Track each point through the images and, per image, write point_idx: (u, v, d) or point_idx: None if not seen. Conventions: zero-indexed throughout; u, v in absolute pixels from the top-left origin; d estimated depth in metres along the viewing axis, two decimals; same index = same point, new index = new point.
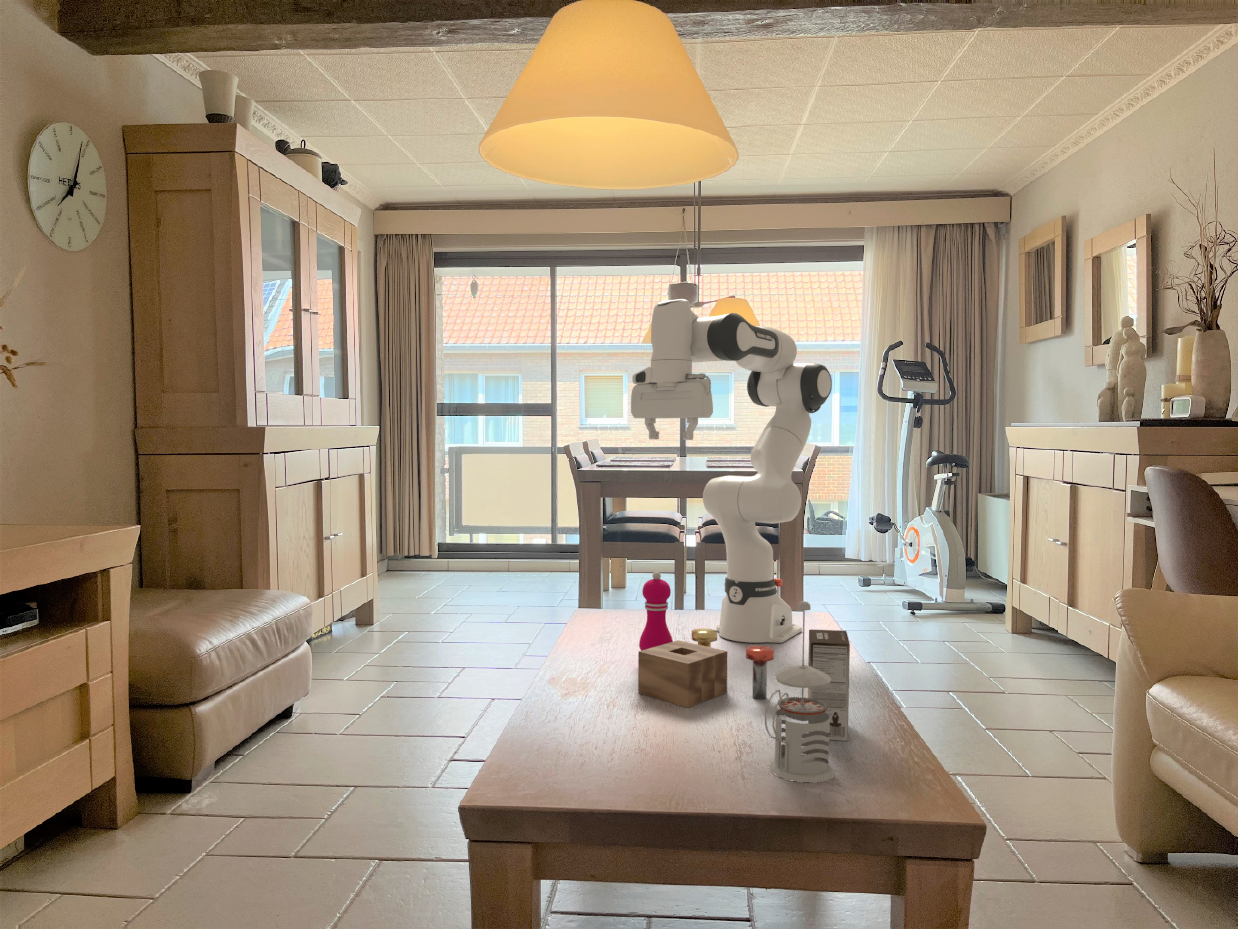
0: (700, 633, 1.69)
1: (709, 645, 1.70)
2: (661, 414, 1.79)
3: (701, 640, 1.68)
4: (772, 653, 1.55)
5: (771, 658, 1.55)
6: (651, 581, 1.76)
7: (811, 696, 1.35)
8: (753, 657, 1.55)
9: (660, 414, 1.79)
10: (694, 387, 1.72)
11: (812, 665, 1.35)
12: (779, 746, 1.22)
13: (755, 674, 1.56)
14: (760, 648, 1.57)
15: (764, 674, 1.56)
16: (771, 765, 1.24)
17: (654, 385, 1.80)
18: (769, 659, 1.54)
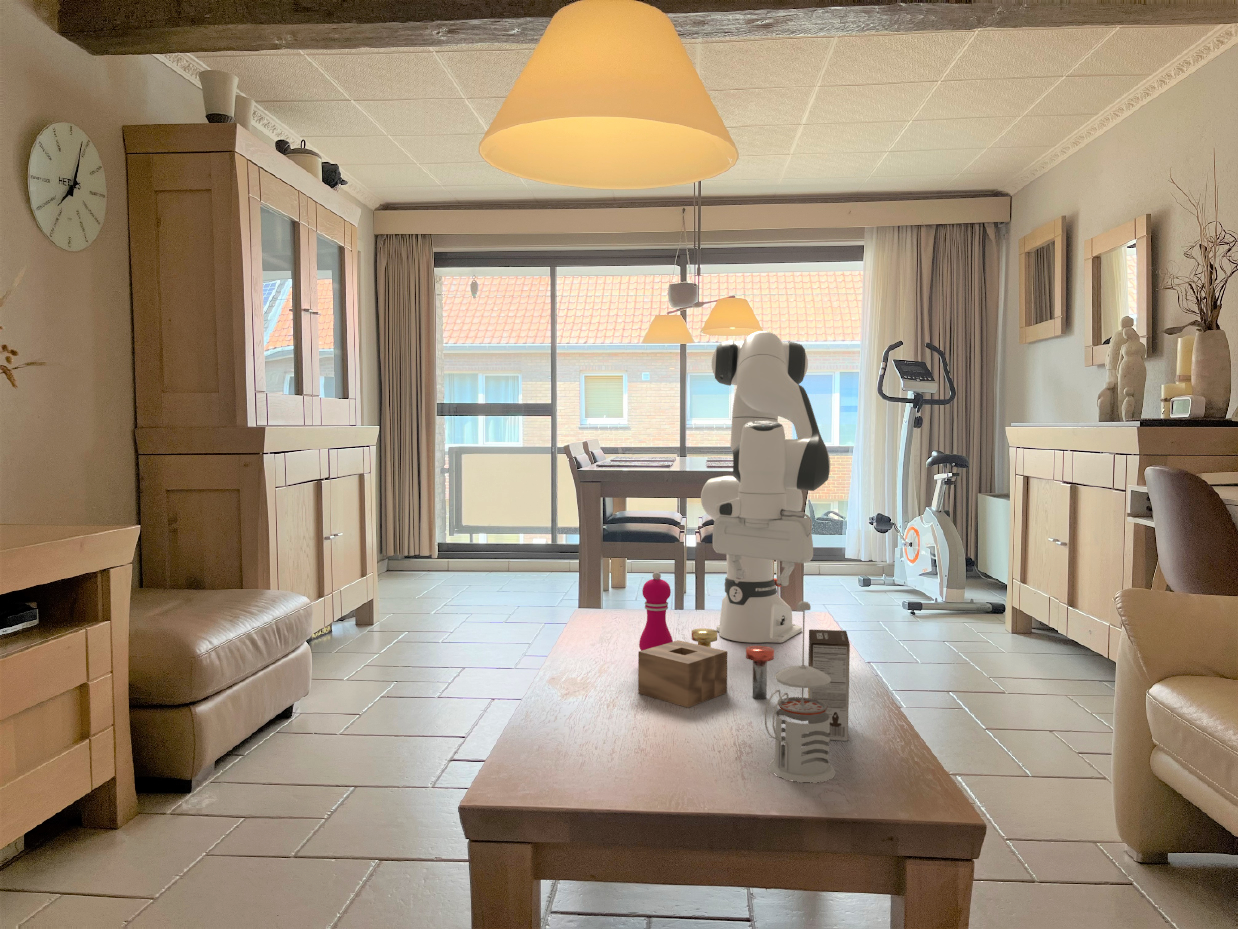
0: (700, 633, 1.69)
1: (709, 645, 1.70)
2: (751, 553, 1.55)
3: (701, 640, 1.68)
4: (772, 653, 1.55)
5: (771, 658, 1.55)
6: (651, 581, 1.76)
7: (811, 696, 1.35)
8: (753, 657, 1.55)
9: (749, 553, 1.55)
10: (792, 528, 1.49)
11: (812, 665, 1.35)
12: (779, 746, 1.22)
13: (755, 674, 1.56)
14: (760, 648, 1.57)
15: (764, 674, 1.56)
16: (771, 765, 1.24)
17: (742, 519, 1.56)
18: (769, 659, 1.54)
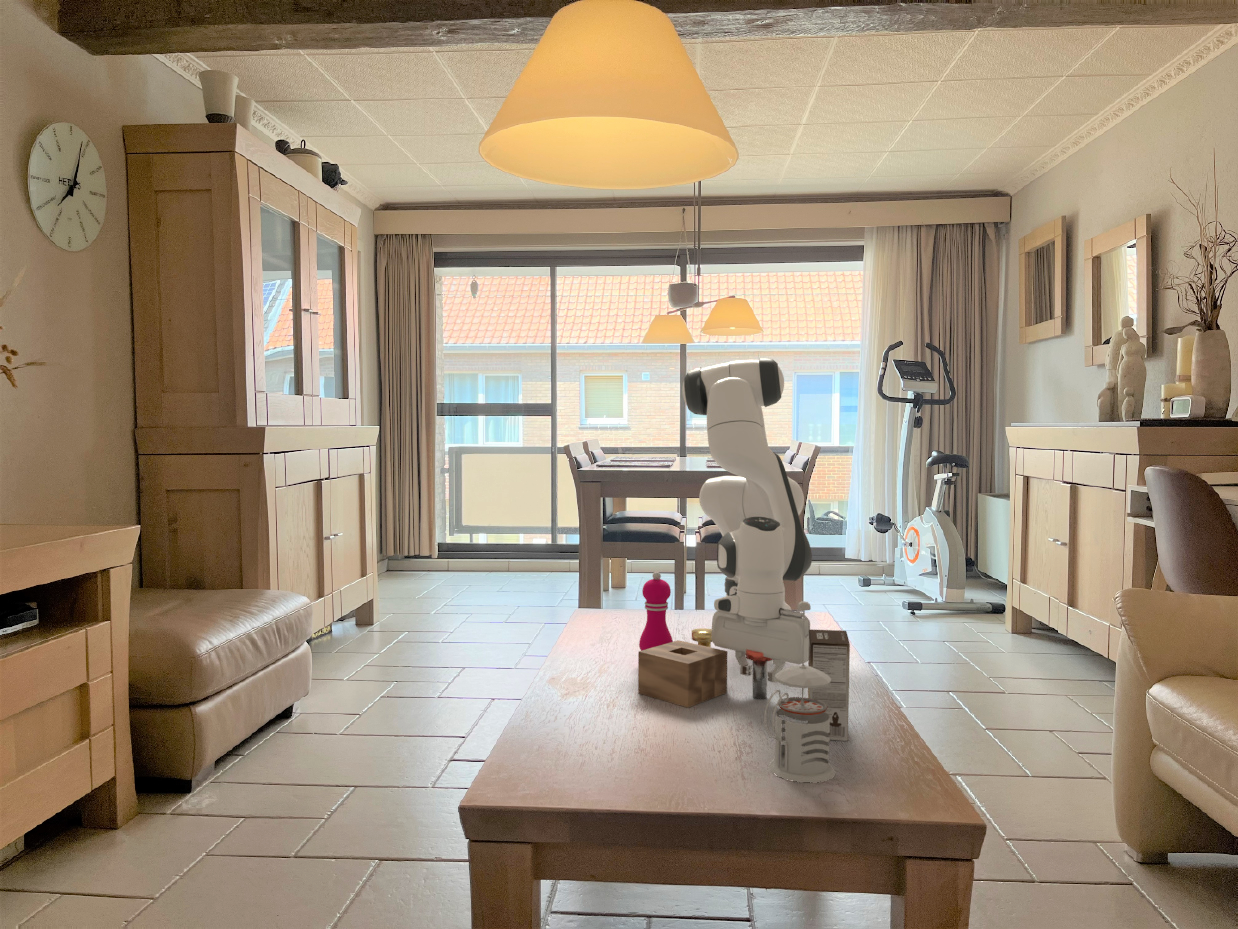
0: (700, 633, 1.69)
1: (709, 645, 1.70)
2: None
3: (701, 640, 1.68)
4: None
5: (771, 658, 1.55)
6: (651, 581, 1.76)
7: (811, 696, 1.35)
8: (753, 657, 1.55)
9: None
10: (790, 629, 1.50)
11: (812, 665, 1.35)
12: (779, 746, 1.22)
13: (755, 674, 1.56)
14: None
15: (764, 674, 1.56)
16: (771, 765, 1.24)
17: (740, 615, 1.57)
18: (769, 659, 1.55)
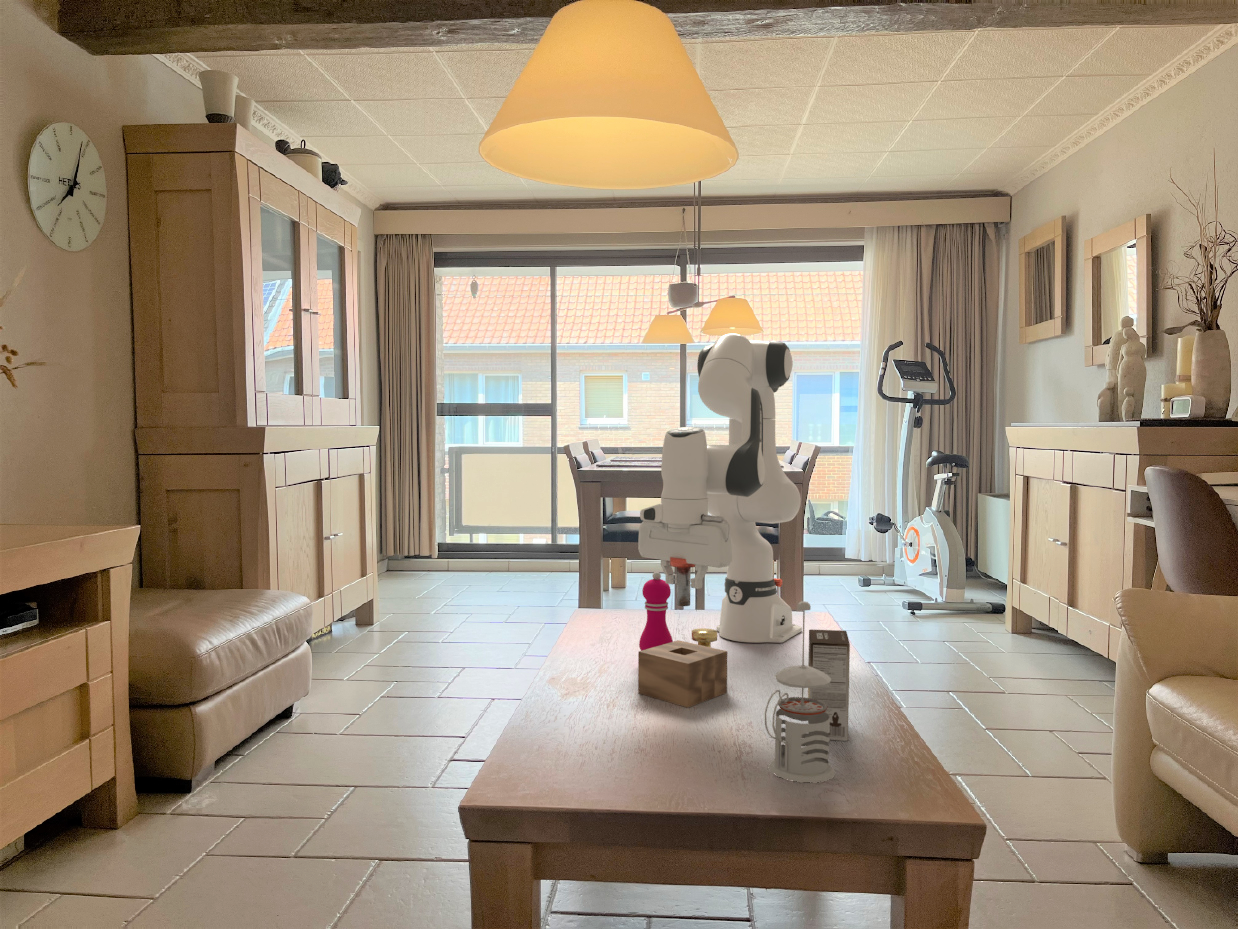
0: (700, 633, 1.69)
1: (709, 645, 1.70)
2: None
3: (701, 640, 1.68)
4: None
5: (694, 565, 1.56)
6: (651, 581, 1.76)
7: (811, 696, 1.35)
8: (676, 563, 1.56)
9: None
10: (711, 533, 1.51)
11: (812, 665, 1.35)
12: (779, 746, 1.22)
13: (679, 582, 1.57)
14: None
15: (687, 581, 1.57)
16: (771, 765, 1.24)
17: (665, 524, 1.59)
18: (692, 565, 1.56)
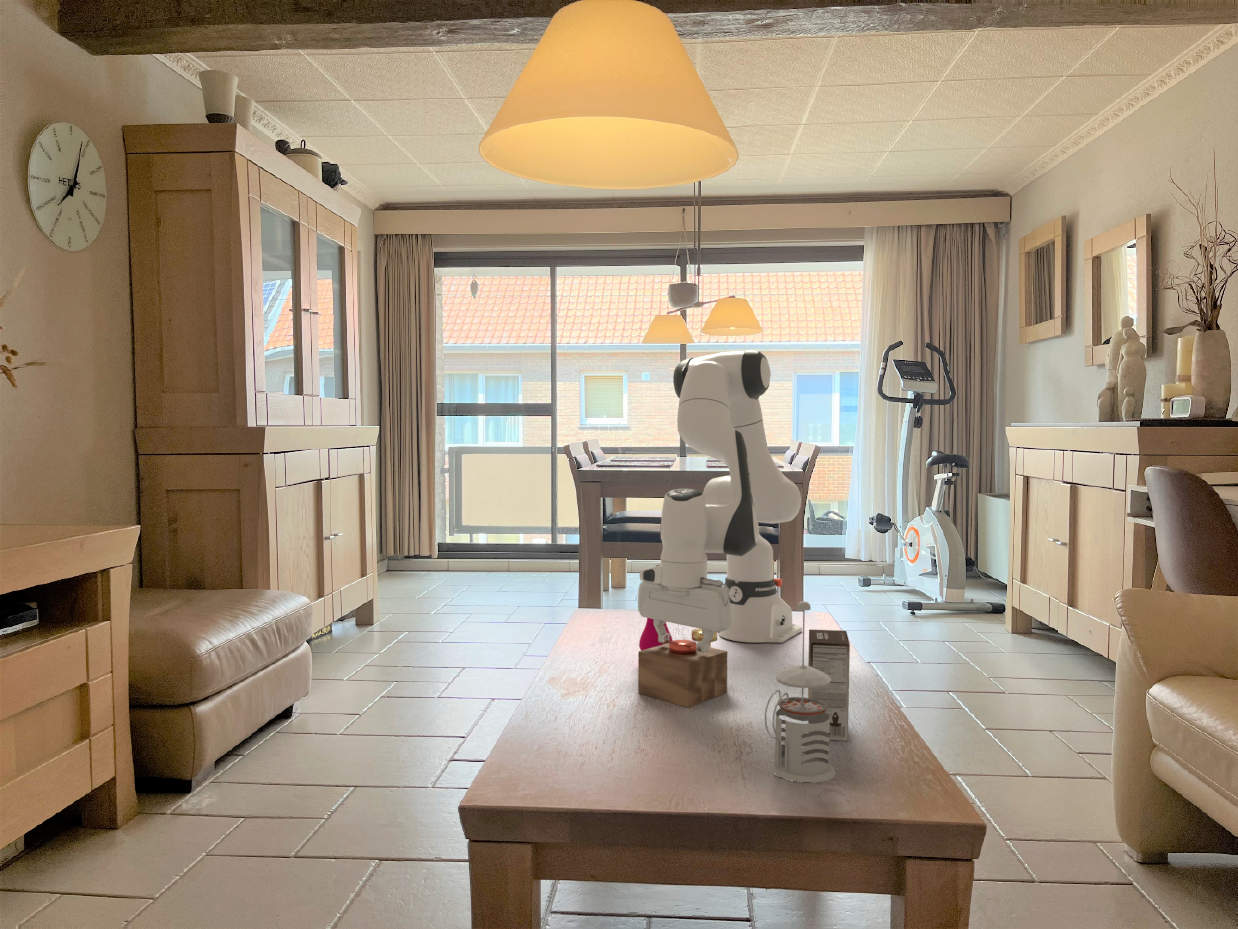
0: (700, 633, 1.69)
1: (709, 645, 1.70)
2: (673, 619, 1.58)
3: (701, 640, 1.68)
4: (694, 647, 1.57)
5: (693, 652, 1.57)
6: None
7: (811, 696, 1.35)
8: (675, 651, 1.57)
9: (671, 619, 1.58)
10: (710, 598, 1.52)
11: (812, 665, 1.35)
12: (779, 746, 1.22)
13: None
14: (683, 642, 1.59)
15: None
16: (771, 765, 1.24)
17: (664, 585, 1.59)
18: (691, 653, 1.57)
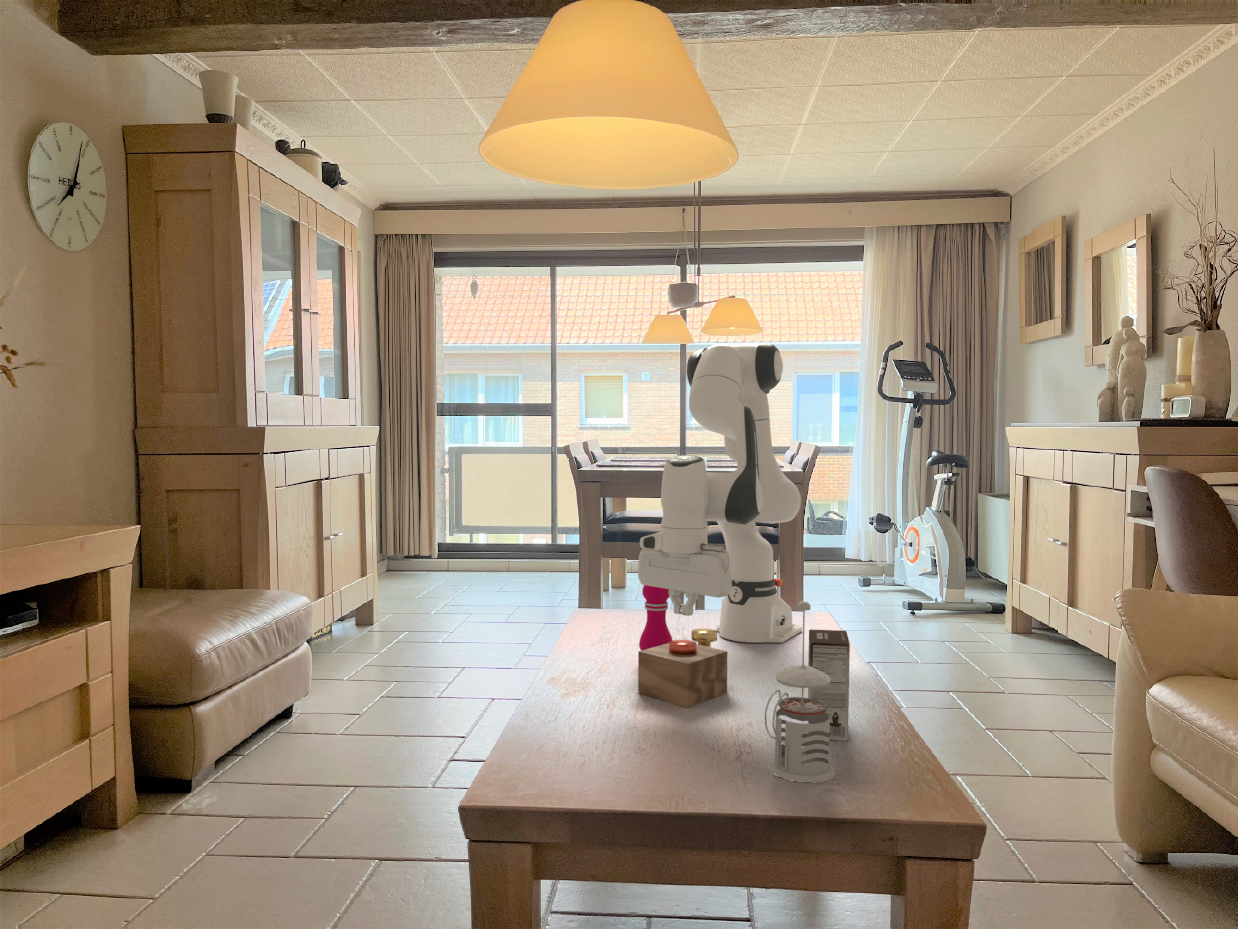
0: (700, 633, 1.69)
1: (709, 645, 1.70)
2: (673, 586, 1.58)
3: (701, 640, 1.68)
4: (694, 647, 1.57)
5: (693, 652, 1.57)
6: None
7: (811, 696, 1.35)
8: (675, 651, 1.57)
9: (671, 586, 1.58)
10: (710, 563, 1.52)
11: (812, 665, 1.35)
12: (779, 746, 1.22)
13: None
14: (683, 642, 1.59)
15: None
16: (771, 765, 1.24)
17: (665, 552, 1.59)
18: (691, 653, 1.57)
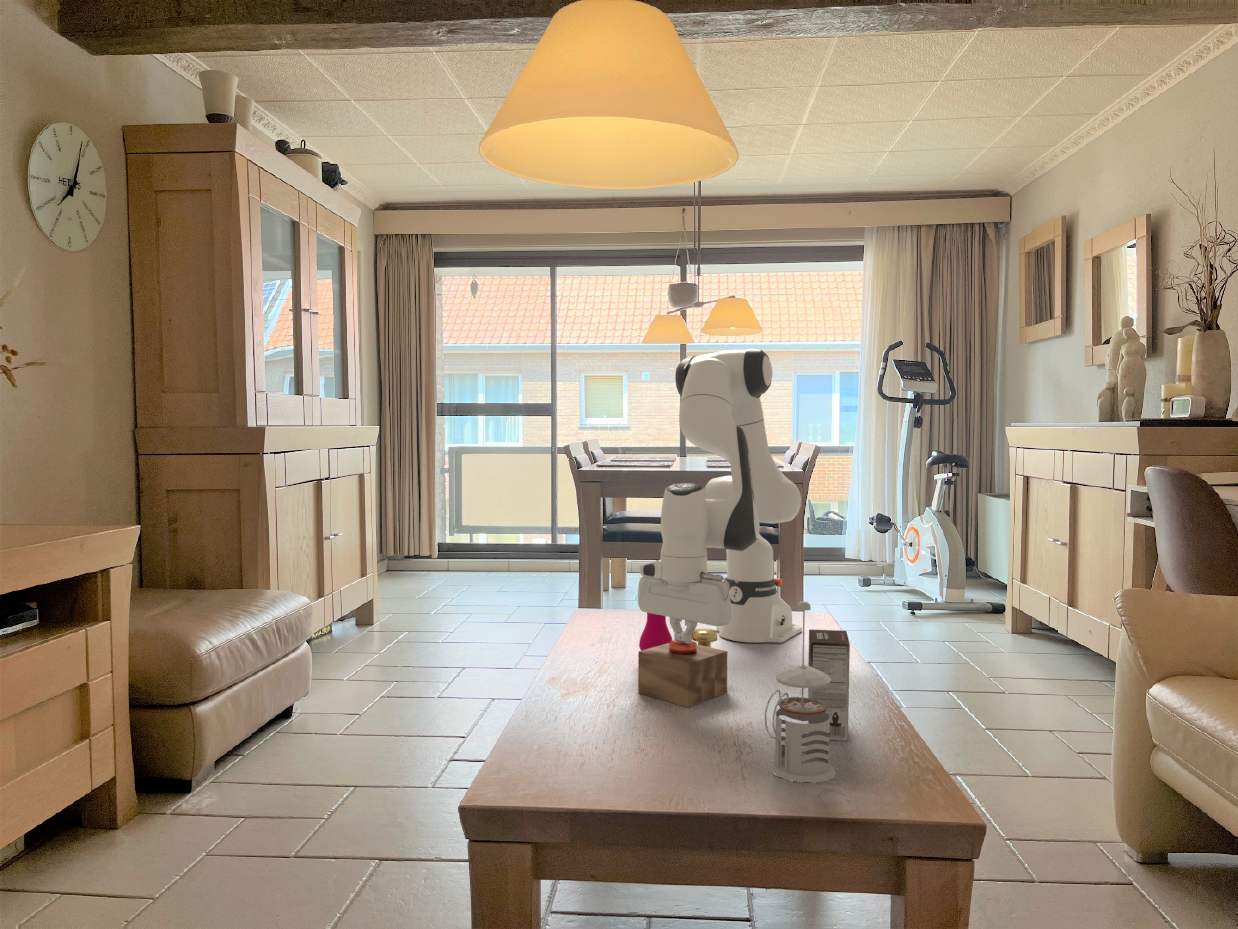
0: (700, 633, 1.69)
1: (709, 645, 1.70)
2: (673, 614, 1.58)
3: (701, 640, 1.68)
4: (694, 647, 1.57)
5: (693, 652, 1.57)
6: None
7: (811, 696, 1.35)
8: (675, 651, 1.57)
9: (671, 614, 1.58)
10: (710, 592, 1.52)
11: (812, 665, 1.35)
12: (779, 746, 1.22)
13: None
14: None
15: None
16: (771, 765, 1.24)
17: (664, 580, 1.59)
18: (691, 653, 1.57)
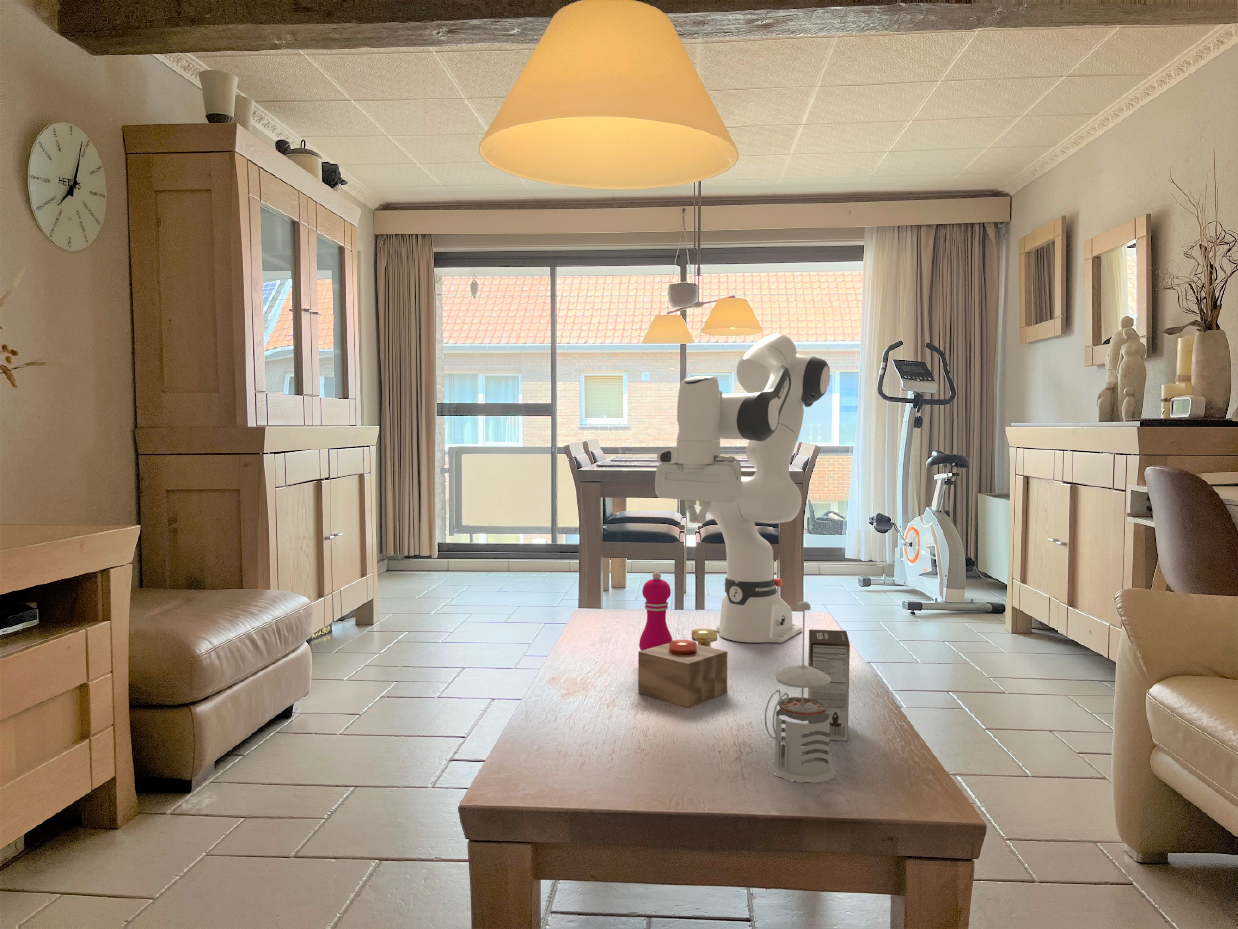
0: (700, 633, 1.69)
1: (709, 645, 1.70)
2: (688, 496, 1.70)
3: (701, 640, 1.68)
4: (694, 647, 1.57)
5: (693, 652, 1.57)
6: (651, 581, 1.76)
7: (811, 696, 1.35)
8: (675, 651, 1.57)
9: (686, 496, 1.70)
10: (723, 471, 1.64)
11: (812, 665, 1.35)
12: (779, 746, 1.22)
13: None
14: (683, 642, 1.59)
15: None
16: (771, 765, 1.24)
17: (680, 465, 1.71)
18: (691, 653, 1.57)
